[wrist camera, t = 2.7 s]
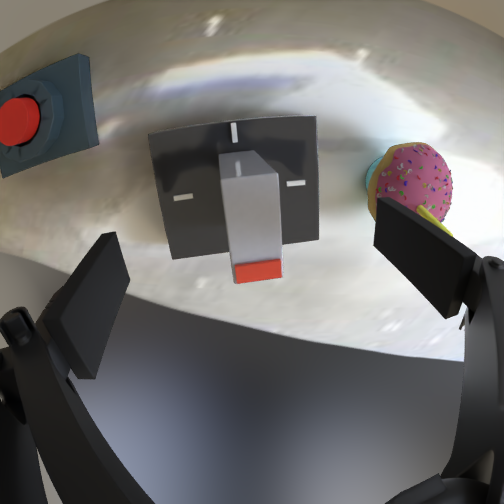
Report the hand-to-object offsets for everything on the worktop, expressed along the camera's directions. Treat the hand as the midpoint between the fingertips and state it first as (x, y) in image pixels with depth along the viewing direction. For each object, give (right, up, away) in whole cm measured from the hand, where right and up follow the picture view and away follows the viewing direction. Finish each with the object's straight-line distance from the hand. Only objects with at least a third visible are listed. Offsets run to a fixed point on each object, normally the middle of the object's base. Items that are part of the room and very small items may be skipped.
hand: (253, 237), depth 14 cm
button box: (-18, +11, +4) cm, 21 cm away
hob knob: (-1, +4, +7) cm, 8 cm away
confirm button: (-17, +9, +1) cm, 20 cm away
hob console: (-1, +5, +10) cm, 11 cm away
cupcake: (+13, +6, +11) cm, 18 cm away
